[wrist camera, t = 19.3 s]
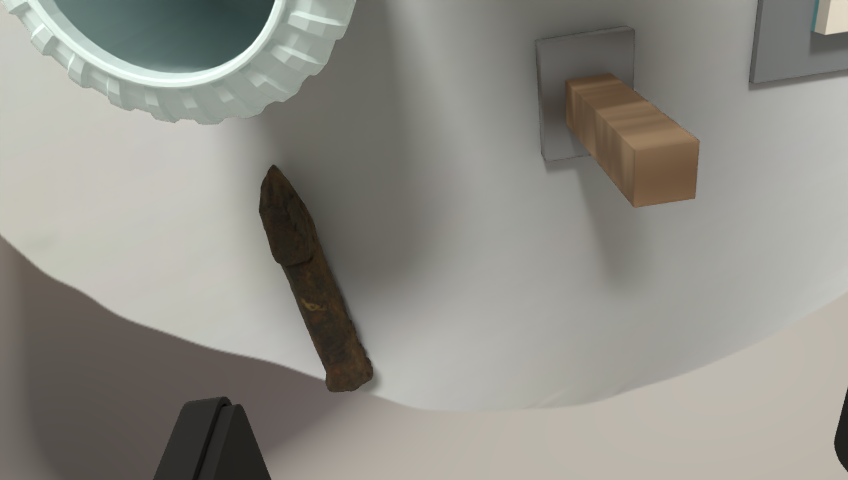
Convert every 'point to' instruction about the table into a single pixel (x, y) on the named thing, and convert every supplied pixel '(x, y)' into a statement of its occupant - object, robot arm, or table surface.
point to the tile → (830, 16)
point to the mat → (793, 43)
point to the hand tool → (312, 283)
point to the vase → (188, 50)
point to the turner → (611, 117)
